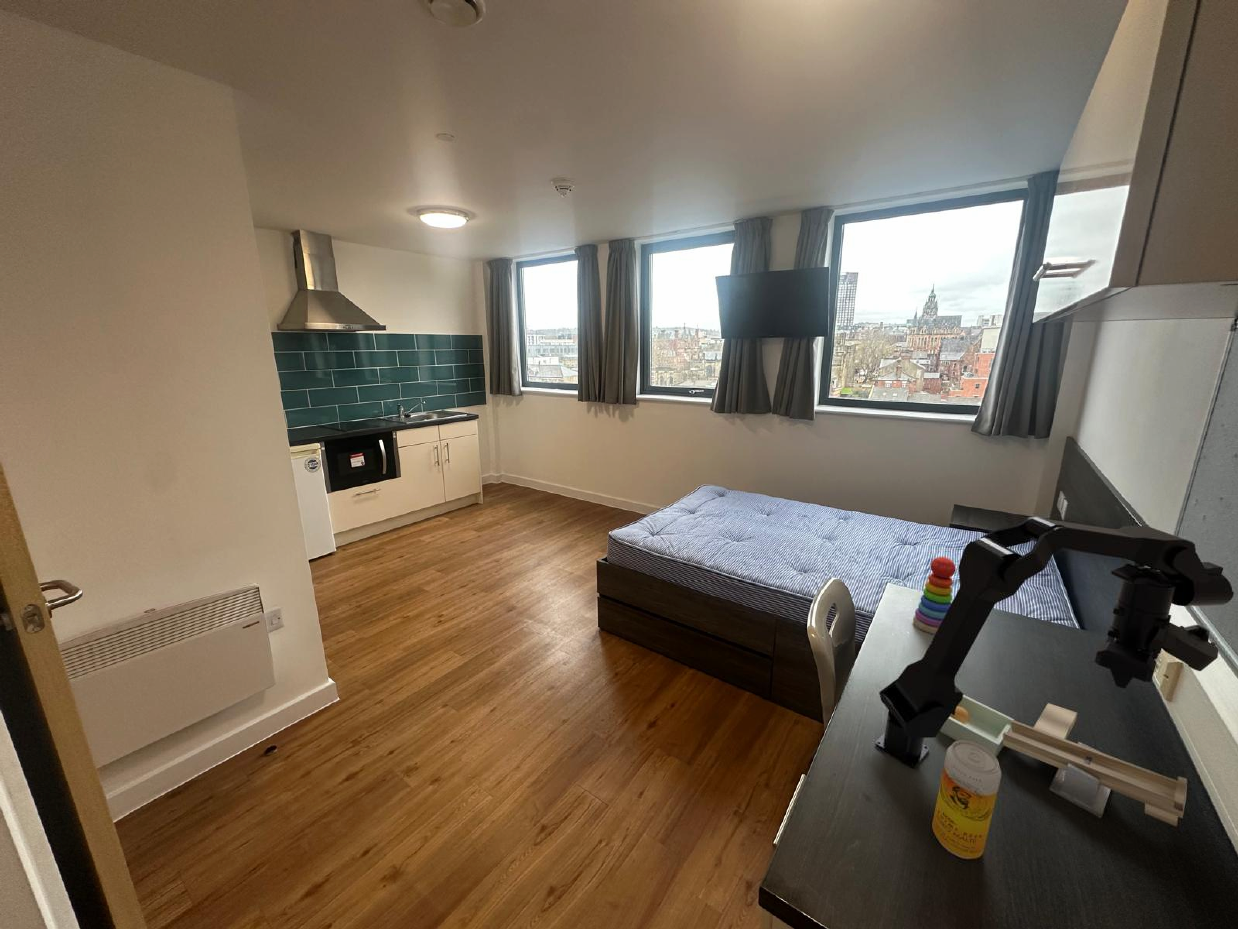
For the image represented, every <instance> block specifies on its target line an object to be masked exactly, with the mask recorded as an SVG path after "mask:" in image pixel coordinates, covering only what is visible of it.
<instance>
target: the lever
mask: <svg viewBox="0 0 1238 929" xmlns="http://www.w3.org/2000/svg"><path fill="white" fill-rule="evenodd" d="M1040 714H1041V715H1040V716H1039V718H1038V719H1037V721H1036V723H1035V724H1034V726H1029V725H1027V724H1024V723H1022V722H1019V721H1017V720H1015V719H1014V720H1012V721H1011V729H1010V730H1009V732H1008V733H1006V732H1004V733H1003V745H1004V746H1003V747H1007V748H1009V749H1011V750H1013V751H1017V752H1019V753H1021V754H1024V755H1027V756H1028V757H1031V758H1033V759H1036V760H1038V761H1041V762H1044V763H1046V764H1048V765H1051V766H1053V767H1056V768H1058V769H1059V768H1060V769H1063V770H1065V771H1066V769H1067V766H1068V763H1069V764H1071V765H1073V766H1075V767H1077V768H1079V769H1081V770H1083V771H1085V772H1087V773H1089V774H1091V775H1093V776H1095V777H1097V778H1099V779H1100V782H1099V785H1102V786H1104V787H1107V788H1109V789H1111V790H1112V791H1115V792H1116V793H1118V794H1119V793H1120V794H1121V795H1124V796H1126V797H1130V798H1132V799H1134V800H1136V801H1139V802H1141V803H1144V814H1146V815H1149V816H1151V817H1153V818H1155V819H1157V820H1160V821H1162V822H1165V823H1167V824H1170V825H1172V826H1174V827H1177V825H1178V821H1179V820H1178V819H1179V818H1181V819H1184V817H1183V816H1184V813H1185V808H1186V807H1185V805H1186V800H1187V788H1188V787H1187V786H1188V785H1187V784H1188V779H1187V778H1185V777H1182V776H1177V780H1176V779H1174V778H1170V777H1168V776H1165V775H1162V774H1160V773H1158V772H1155V771H1152V770H1150V769H1147V768H1144V767H1142V766H1138V765H1136V764H1134V763H1130V762H1128V761H1125V760H1122V759H1121V758H1120V759H1119V758H1116V757H1114V756H1111V755H1109V754H1107V753H1104V752H1102V753H1101V751H1100V752H1098V751H1099V750H1097V751H1095V750H1096V749H1095V750H1093V749H1094V748H1093V749H1090V748H1087V747H1085V746H1082V745H1079V744H1078V743H1076V742H1073V741H1072V740H1068V736H1069V735H1070V733H1071V731H1072V728H1073V727H1074V725H1075V723H1076V721H1077V719H1078V712H1076V711H1073V710H1071V709H1067V708H1064V707H1062V706H1061V707H1060V706H1058V705H1055V704H1052V703H1050V702H1048V703H1047V704H1046V706H1045V708H1044V709H1043V711H1042V712H1041V713H1040ZM1103 753H1104V754H1103Z"/></svg>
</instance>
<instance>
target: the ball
mask: <svg viewBox="0 0 1238 929" xmlns="http://www.w3.org/2000/svg"><path fill="white" fill-rule="evenodd" d="M950 717H951V718H953V719H955V720H957V721H959V722H961V723H963V724H966V723H967V722H968V721H969V714H968V712H967V711H966V710H965V709H964V708H962V707H959V706H957V707H956V710H955V715H952V714H951V715H950Z"/></svg>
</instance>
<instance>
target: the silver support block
mask: <svg viewBox="0 0 1238 929" xmlns="http://www.w3.org/2000/svg"><path fill="white" fill-rule="evenodd" d="M1077 744H1079V745H1082V746H1085V747H1087V748H1090V749H1093V750H1095V751H1098V752H1101V751H1099V750H1098V749H1095V748H1093V747H1091V746H1089V745H1087V744H1085V743H1083V742H1080V741H1078V742H1077ZM1101 753H1103V754H1105V753H1104V752H1101ZM1099 782H1100V779H1099V778H1097V777H1095V776H1093V775H1091V774H1089V773H1087V772H1085V771H1083V770H1081V769H1079V768H1077V767H1075V766H1073V765H1071V764H1069V763H1068V766H1067V769H1066V771H1065V770H1063V769H1060V768H1058V769H1057V771H1056V774H1055V776H1054V777H1053V779H1052V781H1051V784H1050V785H1049V791H1051V792H1053V793H1054V794H1056V795H1058V796H1060V797H1062V798H1064V799H1065V800H1067V801H1069V802H1071V803H1073V804H1074V805H1076V806H1078V807H1079V808H1082V809H1083V810H1085V811H1088V812H1089V813H1091V814H1092V815H1094V816H1096V817H1098V818H1100V819H1102V816H1103V814H1104V811H1105V808H1106V804H1107V802H1108V800H1109V799H1108V798H1109V795H1110V792H1111V790H1112V789H1109V788H1107V787H1104V786H1102V785H1099Z"/></svg>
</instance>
